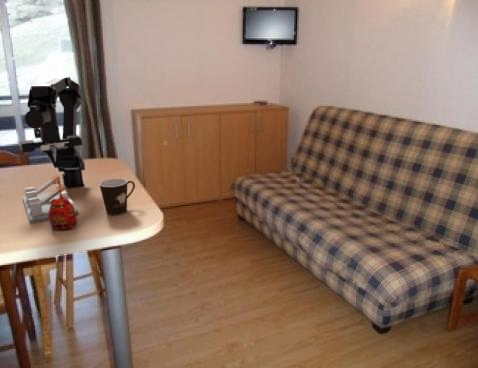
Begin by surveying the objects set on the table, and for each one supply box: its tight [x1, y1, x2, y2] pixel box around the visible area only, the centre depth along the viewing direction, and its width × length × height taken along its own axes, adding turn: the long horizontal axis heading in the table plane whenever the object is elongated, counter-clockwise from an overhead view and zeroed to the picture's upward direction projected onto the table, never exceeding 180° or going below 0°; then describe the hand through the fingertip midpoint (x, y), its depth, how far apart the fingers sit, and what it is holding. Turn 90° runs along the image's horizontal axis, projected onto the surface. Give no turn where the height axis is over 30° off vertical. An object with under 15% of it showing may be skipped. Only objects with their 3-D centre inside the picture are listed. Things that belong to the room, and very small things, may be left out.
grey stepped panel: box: [22, 186, 79, 224], centre depth 136 cm, size 14×24×5 cm, turn 32°
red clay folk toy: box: [48, 176, 78, 231], centre depth 119 cm, size 8×7×15 cm
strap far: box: [35, 174, 60, 195], centre depth 140 cm, size 11×4×1 cm
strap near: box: [39, 183, 67, 206], centre depth 130 cm, size 11×4×1 cm
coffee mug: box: [99, 177, 136, 216], centre depth 131 cm, size 12×9×10 cm
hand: (55, 167), depth 140 cm, fingers closed
